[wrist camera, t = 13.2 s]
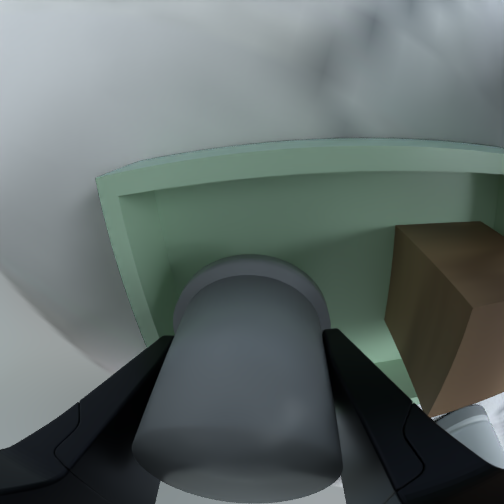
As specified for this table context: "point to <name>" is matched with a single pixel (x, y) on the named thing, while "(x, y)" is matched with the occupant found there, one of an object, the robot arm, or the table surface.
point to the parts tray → (295, 220)
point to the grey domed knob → (244, 388)
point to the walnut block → (448, 311)
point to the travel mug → (475, 433)
